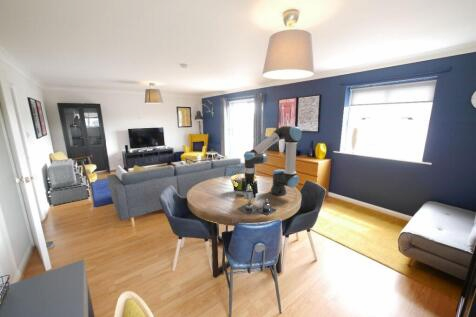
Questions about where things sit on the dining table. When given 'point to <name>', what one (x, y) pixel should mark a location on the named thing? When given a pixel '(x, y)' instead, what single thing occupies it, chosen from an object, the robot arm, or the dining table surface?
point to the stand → (266, 208)
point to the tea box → (239, 186)
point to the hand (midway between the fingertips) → (249, 199)
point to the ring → (248, 194)
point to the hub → (249, 208)
